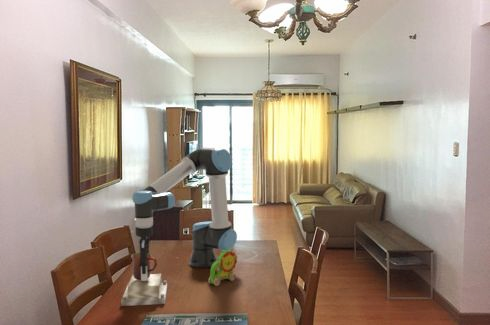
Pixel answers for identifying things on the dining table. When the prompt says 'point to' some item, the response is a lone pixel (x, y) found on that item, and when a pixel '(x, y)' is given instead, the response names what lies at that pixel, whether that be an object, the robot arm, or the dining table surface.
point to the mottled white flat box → (145, 291)
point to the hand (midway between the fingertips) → (145, 277)
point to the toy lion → (223, 267)
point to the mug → (137, 269)
